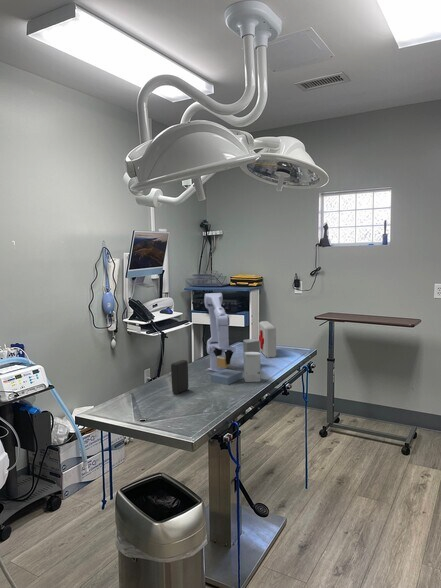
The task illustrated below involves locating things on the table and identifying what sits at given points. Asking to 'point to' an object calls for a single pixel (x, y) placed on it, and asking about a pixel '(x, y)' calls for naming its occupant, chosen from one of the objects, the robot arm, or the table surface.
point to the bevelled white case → (267, 339)
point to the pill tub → (222, 361)
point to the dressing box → (226, 376)
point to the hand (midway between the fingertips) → (223, 363)
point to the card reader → (179, 376)
